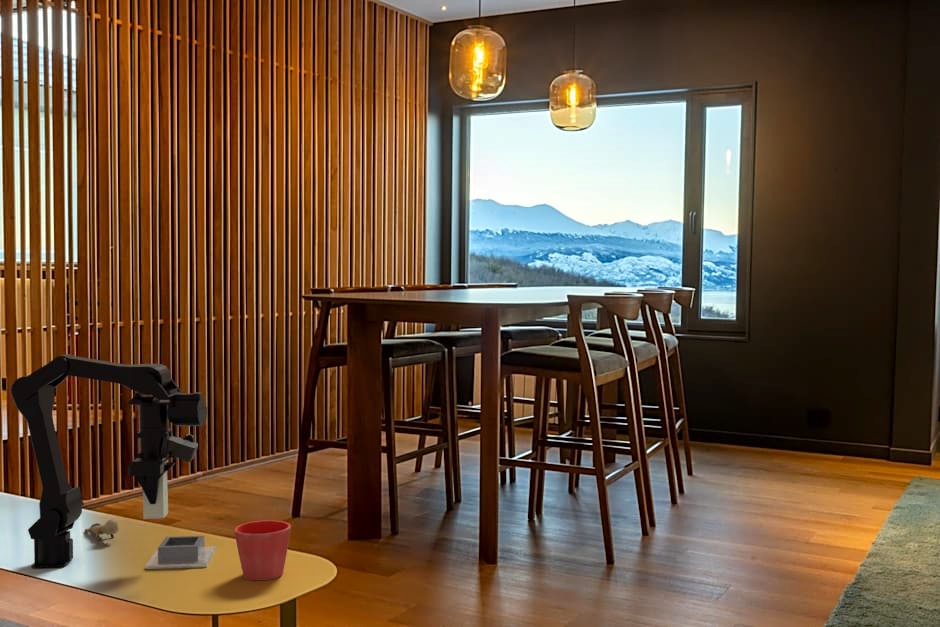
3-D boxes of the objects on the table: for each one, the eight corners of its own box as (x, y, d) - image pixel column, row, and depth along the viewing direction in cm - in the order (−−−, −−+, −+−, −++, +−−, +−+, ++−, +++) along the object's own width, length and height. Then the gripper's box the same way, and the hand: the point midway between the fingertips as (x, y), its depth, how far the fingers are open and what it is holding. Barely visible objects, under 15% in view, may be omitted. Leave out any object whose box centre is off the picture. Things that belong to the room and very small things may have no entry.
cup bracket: (145, 569, 189) (145, 550, 189) (158, 551, 201) (158, 534, 200) (206, 567, 190) (206, 548, 190) (215, 549, 202) (215, 532, 202)
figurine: (82, 542, 215) (108, 540, 204) (80, 522, 216) (106, 519, 205) (97, 539, 218) (124, 537, 207) (96, 519, 218) (122, 517, 208)
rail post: (143, 518, 189) (142, 475, 188) (148, 513, 193) (147, 470, 192) (163, 518, 189) (162, 474, 189) (168, 513, 193) (167, 470, 193)
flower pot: (235, 568, 189) (234, 521, 189) (289, 564, 192) (289, 518, 192) (234, 585, 179) (234, 535, 179) (292, 581, 182) (291, 532, 181)
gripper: (184, 432, 182) (186, 511, 182) (202, 418, 200) (204, 489, 201) (126, 434, 181) (128, 513, 181) (149, 419, 199) (151, 491, 200)
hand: (155, 501), depth 191 cm, fingers closed on rail post, 4 cm apart
